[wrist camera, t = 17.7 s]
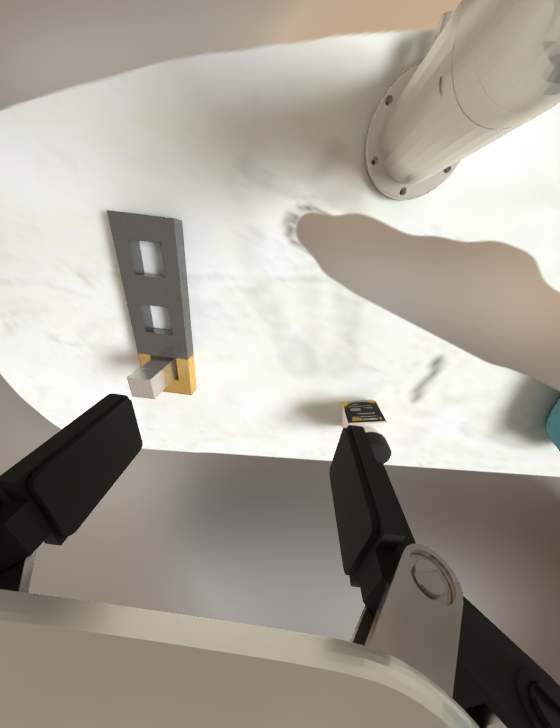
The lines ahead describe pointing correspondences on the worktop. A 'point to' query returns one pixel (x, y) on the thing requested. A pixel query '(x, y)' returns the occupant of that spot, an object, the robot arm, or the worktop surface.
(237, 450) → the worktop surface
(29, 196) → the worktop surface
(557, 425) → the casserole dish
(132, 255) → the rail
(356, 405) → the medicine bottle
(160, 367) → the steel peg
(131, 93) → the worktop surface
